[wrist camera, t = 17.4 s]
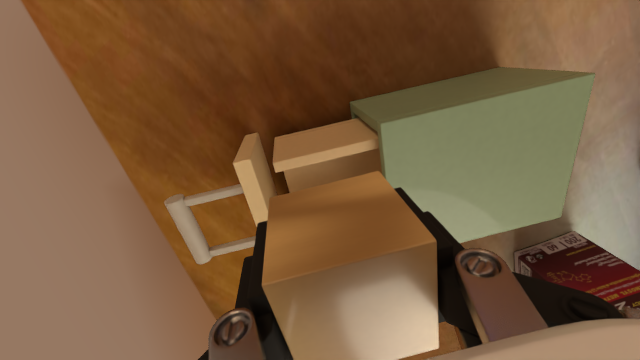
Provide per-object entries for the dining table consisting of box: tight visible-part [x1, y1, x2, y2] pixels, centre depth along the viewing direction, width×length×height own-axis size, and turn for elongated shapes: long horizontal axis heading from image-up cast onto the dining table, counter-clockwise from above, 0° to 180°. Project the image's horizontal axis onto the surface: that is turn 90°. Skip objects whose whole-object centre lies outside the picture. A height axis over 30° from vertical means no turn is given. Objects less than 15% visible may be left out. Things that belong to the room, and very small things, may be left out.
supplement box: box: [514, 231, 640, 310], centre depth 30 cm, size 9×5×16 cm, turn 110°
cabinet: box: [350, 67, 595, 243], centre depth 24 cm, size 15×12×9 cm
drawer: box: [165, 118, 382, 264], centre depth 23 cm, size 20×10×7 cm, turn 101°
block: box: [262, 171, 439, 360], centre depth 10 cm, size 5×5×5 cm
